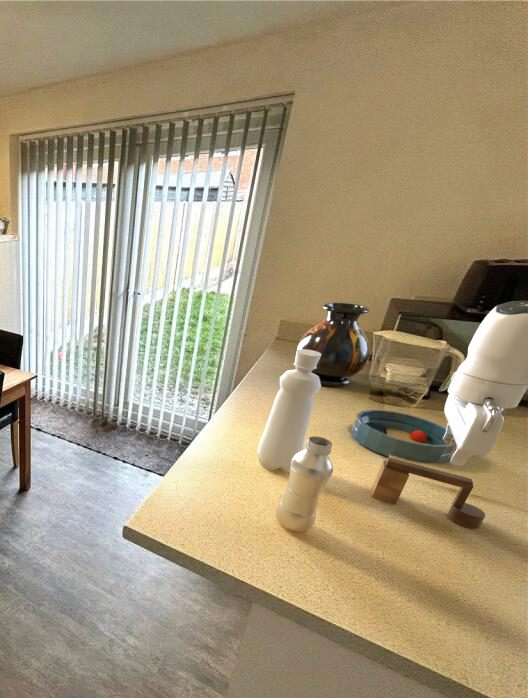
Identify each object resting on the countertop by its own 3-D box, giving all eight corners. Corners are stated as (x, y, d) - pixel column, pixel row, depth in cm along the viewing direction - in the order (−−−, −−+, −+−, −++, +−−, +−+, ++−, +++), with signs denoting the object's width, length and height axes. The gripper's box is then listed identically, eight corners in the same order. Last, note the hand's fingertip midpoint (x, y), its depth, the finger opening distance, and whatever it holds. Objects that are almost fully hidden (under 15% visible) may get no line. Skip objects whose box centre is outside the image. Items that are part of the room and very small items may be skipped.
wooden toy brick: (394, 495, 88) (407, 466, 84) (395, 504, 85) (409, 475, 82) (371, 488, 90) (383, 460, 87) (371, 497, 87) (384, 468, 84)
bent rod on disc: (476, 519, 80) (498, 482, 77) (481, 532, 77) (503, 494, 73) (373, 488, 90) (387, 454, 86) (373, 498, 87) (388, 463, 83)
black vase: (363, 395, 134) (393, 315, 123) (289, 383, 145) (310, 308, 134) (354, 375, 151) (380, 303, 140) (288, 365, 162) (307, 298, 151)
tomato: (423, 441, 106) (428, 431, 105) (424, 446, 104) (429, 436, 103) (407, 437, 108) (412, 427, 107) (408, 442, 106) (413, 432, 105)
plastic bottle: (319, 532, 78) (352, 447, 70) (293, 540, 76) (323, 453, 68) (290, 511, 83) (317, 429, 75) (265, 517, 82) (290, 435, 74)
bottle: (257, 471, 96) (289, 356, 84) (252, 451, 104) (280, 344, 92) (300, 479, 93) (340, 361, 81) (291, 458, 101) (326, 348, 89)
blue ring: (442, 442, 107) (451, 423, 105) (453, 476, 93) (464, 455, 91) (351, 421, 118) (357, 403, 116) (348, 449, 105) (356, 429, 102)
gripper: (527, 415, 63) (486, 484, 69) (497, 377, 78) (465, 437, 83) (470, 404, 67) (436, 471, 72) (452, 370, 81) (424, 428, 87)
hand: (451, 452), depth 78 cm, fingers open, 8 cm apart
